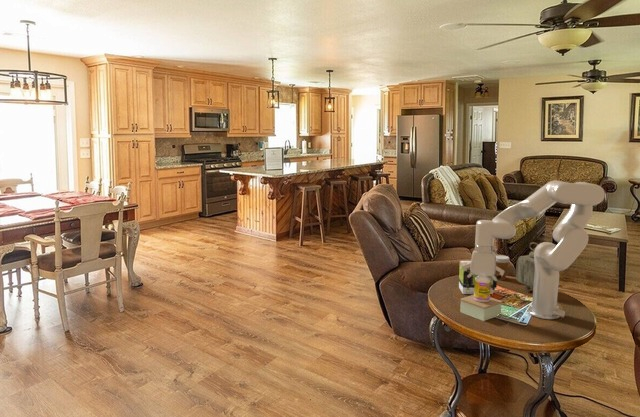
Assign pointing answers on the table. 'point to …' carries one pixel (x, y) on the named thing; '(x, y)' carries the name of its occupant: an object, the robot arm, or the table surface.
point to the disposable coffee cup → (502, 265)
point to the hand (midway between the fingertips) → (481, 287)
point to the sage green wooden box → (480, 308)
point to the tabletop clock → (526, 269)
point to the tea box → (464, 280)
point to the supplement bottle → (482, 288)
